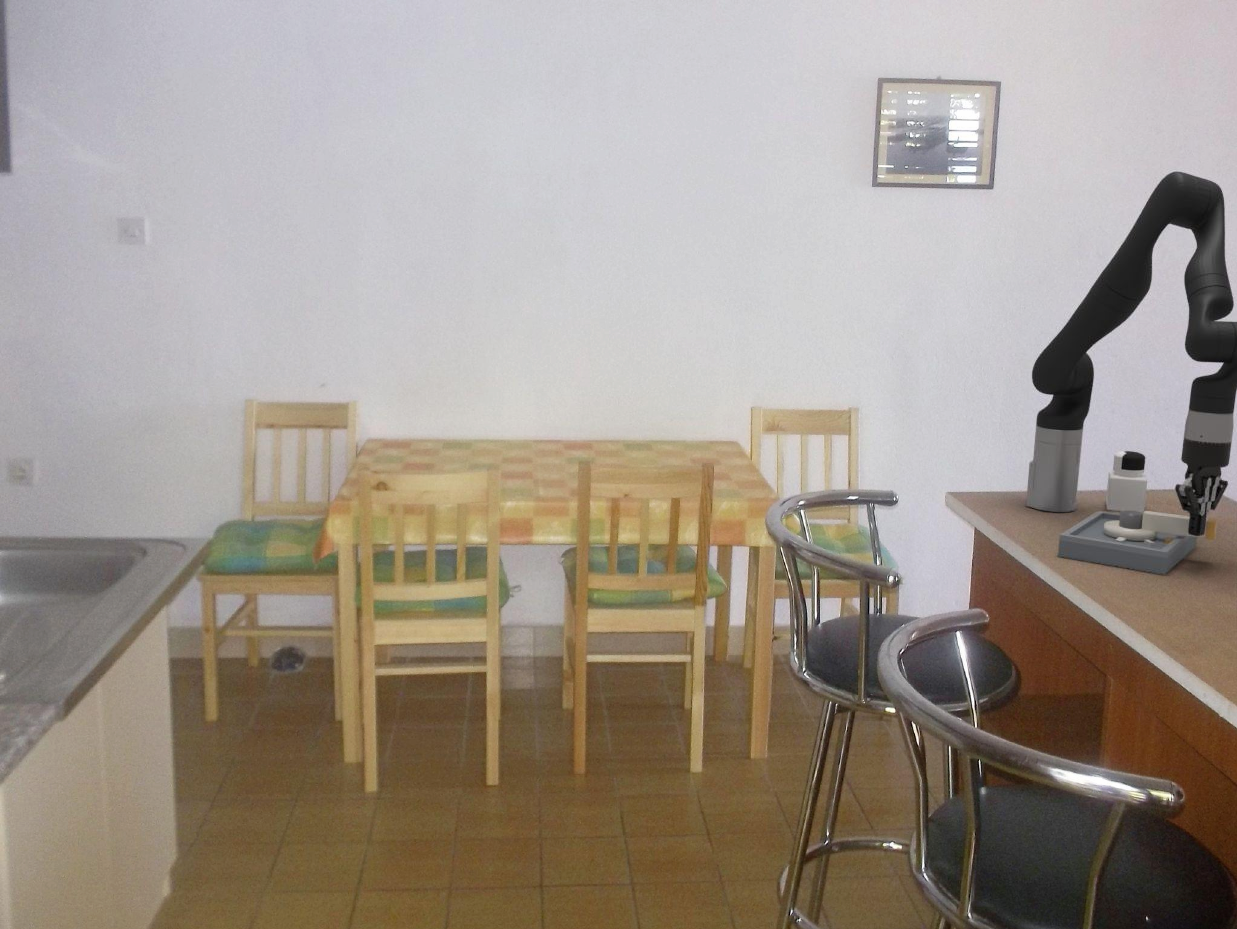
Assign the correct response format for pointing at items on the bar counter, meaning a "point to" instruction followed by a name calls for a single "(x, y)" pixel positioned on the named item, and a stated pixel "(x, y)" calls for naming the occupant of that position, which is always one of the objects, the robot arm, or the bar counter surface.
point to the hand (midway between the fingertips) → (1195, 534)
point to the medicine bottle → (1127, 483)
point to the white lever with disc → (1153, 526)
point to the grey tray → (1123, 546)
